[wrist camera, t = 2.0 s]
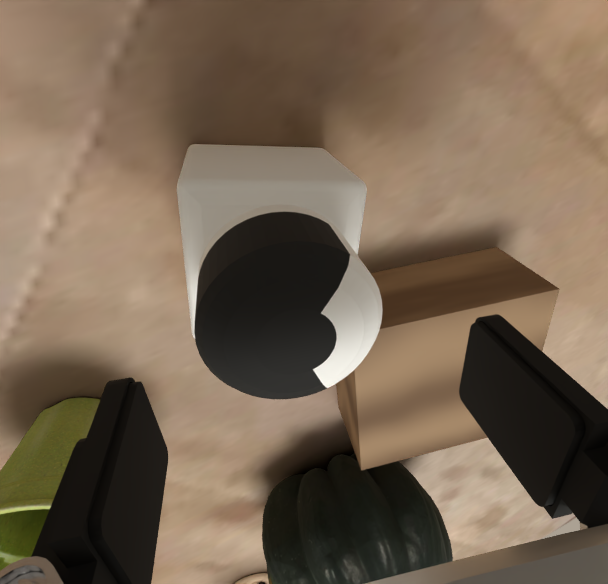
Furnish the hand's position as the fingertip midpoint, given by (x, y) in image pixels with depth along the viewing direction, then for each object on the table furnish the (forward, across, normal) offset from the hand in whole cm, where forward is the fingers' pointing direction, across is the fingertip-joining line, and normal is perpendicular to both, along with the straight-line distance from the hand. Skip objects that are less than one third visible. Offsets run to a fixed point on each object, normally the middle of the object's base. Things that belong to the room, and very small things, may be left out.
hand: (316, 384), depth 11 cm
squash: (+14, -4, +26) cm, 30 cm away
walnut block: (+14, -10, +10) cm, 20 cm away
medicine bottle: (+13, 0, -1) cm, 13 cm away
